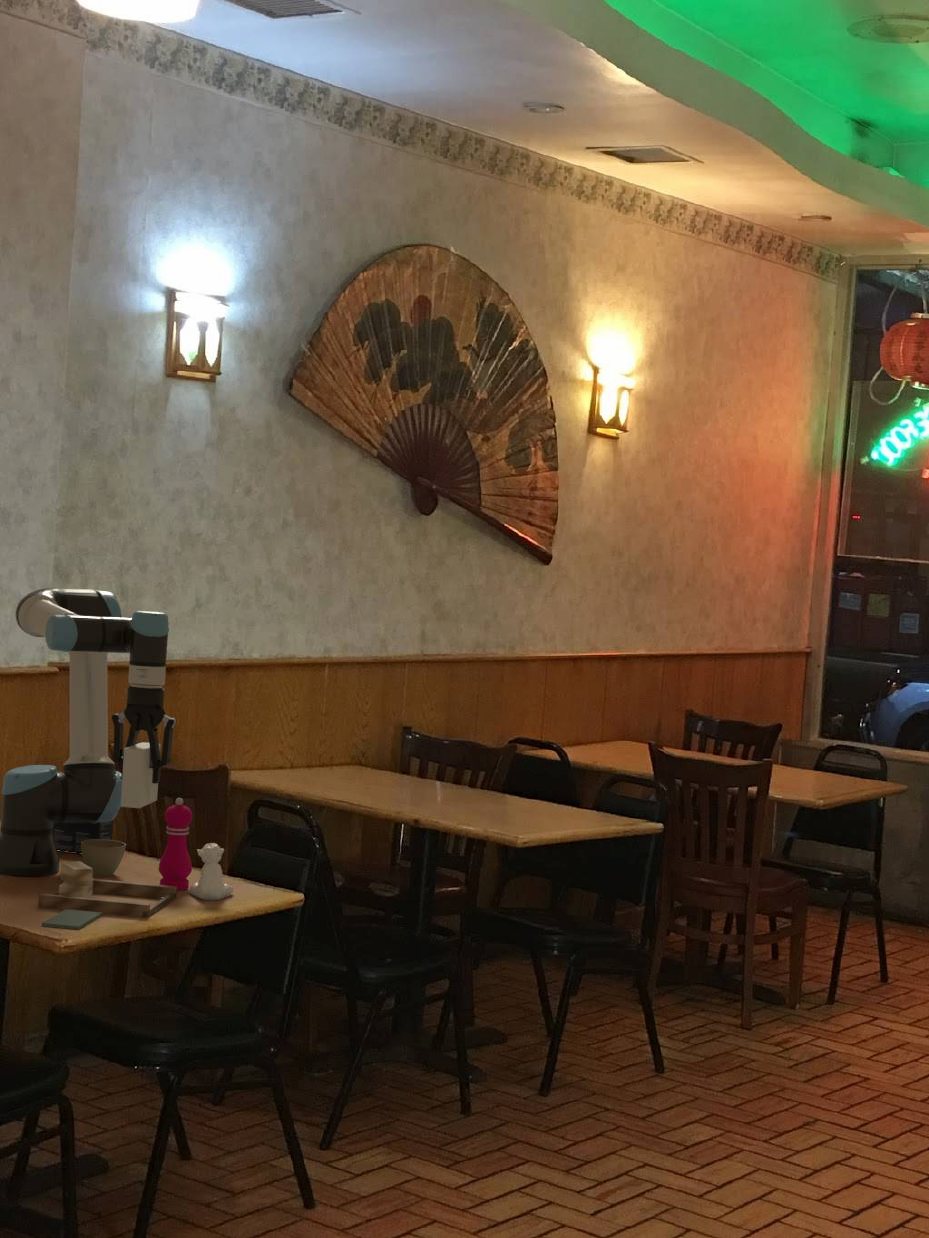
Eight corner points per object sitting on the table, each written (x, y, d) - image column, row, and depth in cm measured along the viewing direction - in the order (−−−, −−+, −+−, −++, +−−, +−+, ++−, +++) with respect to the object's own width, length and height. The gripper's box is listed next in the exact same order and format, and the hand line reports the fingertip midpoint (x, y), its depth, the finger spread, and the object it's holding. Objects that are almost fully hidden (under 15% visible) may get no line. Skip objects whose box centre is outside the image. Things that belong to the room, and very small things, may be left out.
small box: (112, 852, 401) (115, 803, 400) (98, 857, 394) (101, 807, 394) (65, 846, 405) (68, 797, 404) (50, 850, 398) (52, 801, 398)
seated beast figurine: (233, 894, 363) (236, 840, 362) (232, 902, 354) (235, 847, 354) (189, 892, 362) (192, 837, 361) (187, 900, 353) (191, 845, 353)
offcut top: (73, 886, 343) (74, 869, 342) (60, 878, 349) (61, 861, 349) (91, 885, 345) (92, 868, 345) (78, 877, 351) (79, 861, 351)
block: (120, 806, 339) (124, 748, 338) (138, 798, 351) (142, 742, 350) (139, 808, 338) (143, 749, 338) (157, 800, 350) (160, 743, 350)
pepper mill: (183, 892, 361) (189, 801, 360) (152, 889, 362) (157, 798, 362) (195, 886, 368) (200, 797, 367) (164, 883, 369) (170, 794, 369)
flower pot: (85, 879, 368) (87, 847, 367) (74, 870, 376) (76, 839, 376) (129, 878, 372) (131, 846, 372) (117, 869, 381) (119, 838, 381)
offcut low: (58, 905, 342) (59, 885, 342) (68, 895, 352) (69, 876, 352) (82, 906, 342) (83, 887, 342) (92, 896, 352) (93, 877, 352)
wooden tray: (38, 906, 338) (38, 894, 338) (72, 888, 358) (73, 876, 357) (147, 917, 335) (147, 905, 335) (176, 898, 355) (176, 886, 355)
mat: (41, 925, 322) (41, 922, 322) (66, 911, 335) (66, 908, 335) (78, 929, 321) (79, 926, 321) (102, 915, 334) (102, 912, 334)
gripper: (100, 683, 341) (93, 796, 342) (181, 690, 339) (174, 803, 340) (112, 681, 348) (105, 791, 349) (191, 687, 346) (184, 798, 347)
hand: (139, 797), depth 344 cm, fingers closed on block, 4 cm apart
